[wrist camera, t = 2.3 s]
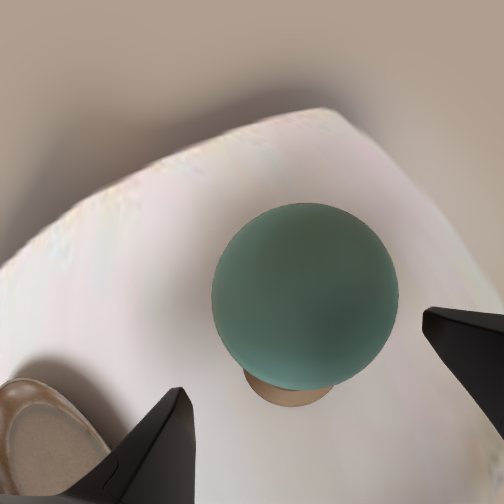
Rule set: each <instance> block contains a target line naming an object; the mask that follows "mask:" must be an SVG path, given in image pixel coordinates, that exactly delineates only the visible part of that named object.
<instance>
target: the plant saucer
mask: <svg viewBox="0 0 504 504" xmlns="http://www.w3.org/2000/svg"><path fill="white" fill-rule="evenodd" d="M111 451H112V450H111V448H110V447H109V445H108V444H107V443H106V441H105V440H104V439H103V437H102V436H101V435H100V434H99V432H98V431H97V430H96V429H95V428H94V426H93V425H92V424H91V423H90V422H89V421H88V420H87V418H86V417H85V416H84V415H83V414H82V413H81V412H80V411H79V410H78V409H77V408H76V407H75V406H74V405H73V404H72V403H71V402H70V401H69V400H68V399H67V398H65V397H64V396H63V395H62V394H61V393H59V392H58V391H57V390H55V389H54V388H52V387H50V386H49V385H47V384H45V383H43V382H41V381H38V380H35V379H32V378H26V377H20V378H14V379H12V380H9V381H7V382H6V383H4V384H3V385H1V386H0V494H4V495H18V496H51V495H56V494H59V493H61V492H64V491H65V490H67V489H68V488H69V487H71V486H72V485H73V484H74V483H76V482H77V481H78V480H80V479H81V478H82V477H83V476H85V475H86V474H87V473H88V472H90V471H91V470H92V469H93V468H94V467H95V466H97V465H98V464H99V463H100V462H101V461H102V460H103V459H104V458H105V457H106V456H107V455H108V454H109V453H110V452H111Z"/></svg>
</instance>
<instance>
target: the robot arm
mask: <svg viewBox="0 0 504 504" xmlns="http://www.w3.org/2000/svg"><path fill="white" fill-rule="evenodd" d="M422 331H423V334H424V336H425V337H426V338H427V340H428V341H429V343H430V344H431V345H432V347H433V348H434V350H435V351H436V353H437V354H438V356H439V357H440V358H441V360H442V361H443V362H444V364H445V365H446V366H447V367H448V368H449V370H450V371H451V372H452V373H453V374H454V375H455V377H456V378H457V379H458V380H459V381H460V383H461V384H462V385H463V386H464V388H465V389H466V390H467V391H468V393H469V394H470V395H471V396H472V398H473V399H474V400H475V401H476V403H477V404H478V405H479V407H480V408H481V409H482V411H483V412H484V413H485V415H486V416H487V417H488V419H489V420H490V421H491V423H492V424H493V425H494V427H495V428H496V430H497V431H498V433H499V434H500V435H501V437H502V438H503V440H504V315H501V314H492V313H482V312H474V311H465V310H457V309H449V308H441V307H430V308H428V309H426V310H425V311H424V312H423V322H422ZM195 457H196V438H195V427H194V414H193V406H192V403H191V401H190V399H189V397H188V395H187V394H186V392H185V390H184V389H183V388H182V387H176V388H171V389H170V390H169V391H168V392H167V393H166V394H165V395H164V396H163V397H162V398H161V400H160V401H159V402H158V403H157V404H156V405H155V406H154V407H153V408H152V409H151V410H150V411H149V413H148V414H147V415H146V416H145V417H144V418H143V419H142V420H141V421H140V422H139V423H138V424H137V425H136V426H135V427H134V428H133V429H132V431H131V432H130V433H129V434H128V435H127V436H126V437H125V438H124V439H123V440H122V441H121V442H120V443H119V444H118V445H117V446H116V447H115V450H114V449H113V450H112V451H111V452H110V453H109V454H108V455H107V456H106V457H105V458H104V459H103V460H102V461H101V462H100V463H99V464H98V465H97V466H95V467H94V468H93V469H92V470H91V471H90V472H88V473H87V474H86V475H85V476H83V477H82V478H81V479H80V480H78V481H77V482H76V483H74V484H73V485H72V486H71V487H69V488H68V489H67V490H65V491H64V492H61V493H59V494H56V495H51V496H18V495H4V494H0V504H194V498H195Z"/></svg>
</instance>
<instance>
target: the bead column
mask: <svg viewBox="0 0 504 504" xmlns="http://www.w3.org/2000/svg"><path fill="white" fill-rule="evenodd" d="M398 297H399V293H398V282H397V277H396V272H395V268H394V265H393V262H392V259H391V257H390V255H389V253H388V251H387V249H386V248H385V246H384V245H383V243H382V242H381V240H380V239H379V237H378V236H377V235H376V234H375V233H374V232H373V231H372V230H371V229H370V228H369V227H368V226H367V225H366V224H365V223H364V222H362V221H361V220H359V219H358V218H357V217H355V216H353V215H351V214H349V213H348V212H345V211H343V210H340V209H338V208H335V207H332V206H328V205H323V204H316V203H297V204H289V205H285V206H281V207H278V208H275V209H272V210H270V211H267V212H265V213H263V214H261V215H260V216H258V217H256V218H255V219H253V220H252V221H251V222H249V223H248V224H247V225H246V226H244V227H243V228H242V229H241V230H240V231H239V232H238V233H237V234H236V235H235V236H234V238H233V239H232V240H231V241H230V243H229V244H228V246H227V247H226V249H225V251H224V252H223V254H222V256H221V258H220V260H219V263H218V265H217V268H216V272H215V276H214V280H213V285H212V311H213V316H214V322H215V325H216V328H217V331H218V334H219V336H220V338H221V340H222V342H223V344H224V345H225V347H226V348H227V350H228V351H229V353H230V354H231V356H232V357H233V358H234V359H235V360H236V361H237V362H238V364H239V365H240V366H241V367H243V370H244V374H245V377H246V379H247V381H248V383H249V385H250V386H251V387H252V389H253V390H254V391H255V392H256V393H257V394H258V395H259V396H261V397H262V398H263V399H265V400H267V401H269V402H271V403H273V404H276V405H280V406H286V407H297V406H303V405H307V404H310V403H312V402H315V401H317V400H318V399H320V398H322V397H323V396H324V395H325V394H327V393H328V392H329V391H330V390H331V389H332V387H333V386H334V385H336V384H339V383H341V382H343V381H345V380H347V379H349V378H351V377H353V376H354V375H355V374H357V373H358V372H360V371H361V370H363V369H364V368H365V367H366V366H367V365H368V364H369V363H370V362H371V361H373V360H374V358H375V357H376V356H377V355H378V353H379V352H380V351H381V349H382V348H383V346H384V344H385V343H386V341H387V339H388V337H389V335H390V333H391V331H392V328H393V326H394V323H395V318H396V314H397V308H398Z"/></svg>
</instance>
